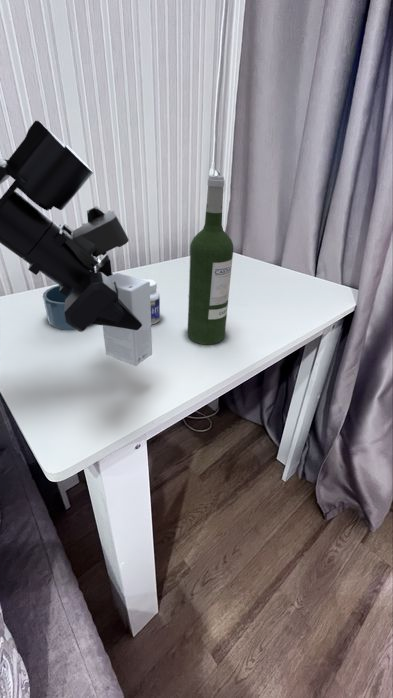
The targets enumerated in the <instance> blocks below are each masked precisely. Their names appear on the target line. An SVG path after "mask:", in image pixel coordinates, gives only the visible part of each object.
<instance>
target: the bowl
mask: <svg viewBox="0 0 393 698" xmlns="http://www.w3.org/2000/svg"><path fill="white" fill-rule="evenodd" d="M59 290H60V285H58V284H57V285H55V286H51V287H49V288H48V289H46V290H45V291H44V292H43V294H42V300H43V304H44V308H45V312H46V317H47V318H46V319H47V320H48V323H49V325H50V326H52V327H53V328H56V329H60V330H76V329H75V328H73V327H72V326H70V325H69V324H67V323H66V319H65V313H64V310H65V299H66V298H67V297H68V296H69V295H70V294H71V293H72V292H73V291H74V289H73V290H72V291H71V292H70V293H69V294H68V295H67V296H65V295H64V294H62V293H61V292H59ZM93 325H94V324H91V325H89V326H88V327H91V326H93Z"/></svg>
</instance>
